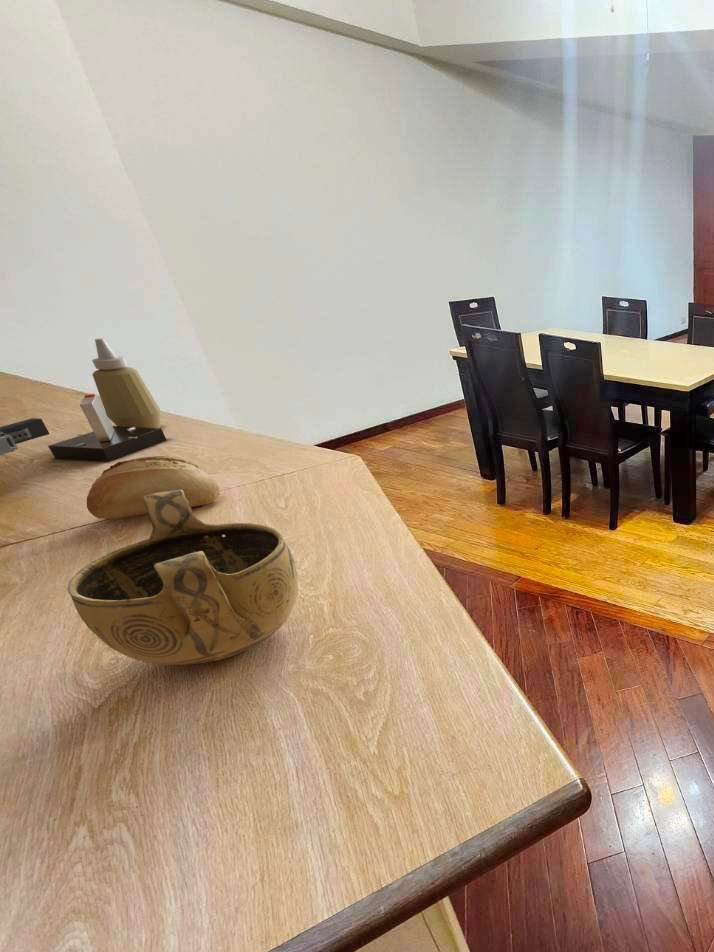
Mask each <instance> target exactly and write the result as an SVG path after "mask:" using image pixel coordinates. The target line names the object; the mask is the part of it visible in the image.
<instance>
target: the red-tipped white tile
mask: <svg viewBox="0 0 714 952" xmlns="http://www.w3.org/2000/svg"><path fill="white" fill-rule="evenodd" d="M79 407H80V408H81V410H82V412H83V415H84V416H85V418H86V420H87V422H88V424H89V426H90V428H91V430H92V432H94V433H95V435H96V437H97V439H98V441H99V442H104V441H111V438H112V436H113V433H114V429H113V427H112V426H113V425H112V422H111V420H110V419H109V418H108V416H107V414H106V411H105V409H104V406H103V404H102V402H101V400H100V399H99V396H98V395H97V394H95V393H86V394H84V397H83V398H82V400H81V402H80V403H79Z"/></svg>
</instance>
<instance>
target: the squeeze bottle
mask: <svg viewBox="0 0 714 952" xmlns="http://www.w3.org/2000/svg"><path fill="white" fill-rule="evenodd" d="M94 343H95V347H96V352H97V358H93V359H91V362H92V363H93V366H94V367H95V369H96V370H94V371H93V373H92V374H91V375H92V378H93V380H94V384H95V386H96V389H97V391H98V395H99V397H100V401H101V404H102V407H103V409H104V411H105V413H106V415H107V417H108V419H109V421H110V422H111V423H113V424H114V426H125V427H145V428H161V426H162V425H161V409H160V407H159V405H158V404H157V402H156V400H155V398H154V397H153V395H152V394H151V392H150V390H149V388H148V387H147V385H146V383H145V381H144V380H143V379H142V377H141V375H140V373H139V372H138V370H137V369H135V368H133V367H129V365H128V362H127V359H126V357H125V356H119V355H118V356H117V355H116V354H115V352H114V351H113V350H112V348H111V347H110V346H109V344H108V343H107V342H106V340H105V339H104V338H95V339H94Z"/></svg>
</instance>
